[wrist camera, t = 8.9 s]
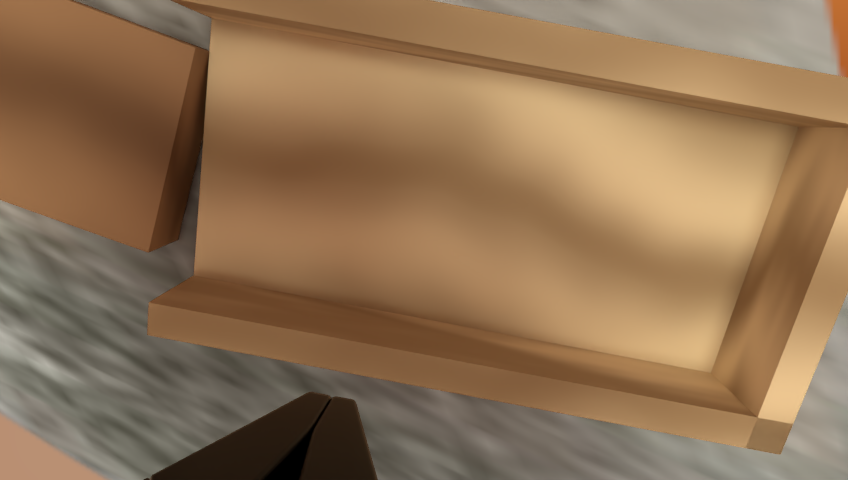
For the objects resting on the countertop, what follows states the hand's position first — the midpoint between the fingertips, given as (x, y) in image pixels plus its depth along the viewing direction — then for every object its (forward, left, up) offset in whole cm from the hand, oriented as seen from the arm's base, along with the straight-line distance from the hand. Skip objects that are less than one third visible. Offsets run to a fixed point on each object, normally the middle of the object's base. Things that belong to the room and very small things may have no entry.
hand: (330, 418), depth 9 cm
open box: (+3, -3, -12) cm, 12 cm away
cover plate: (+4, +14, -12) cm, 19 cm away
